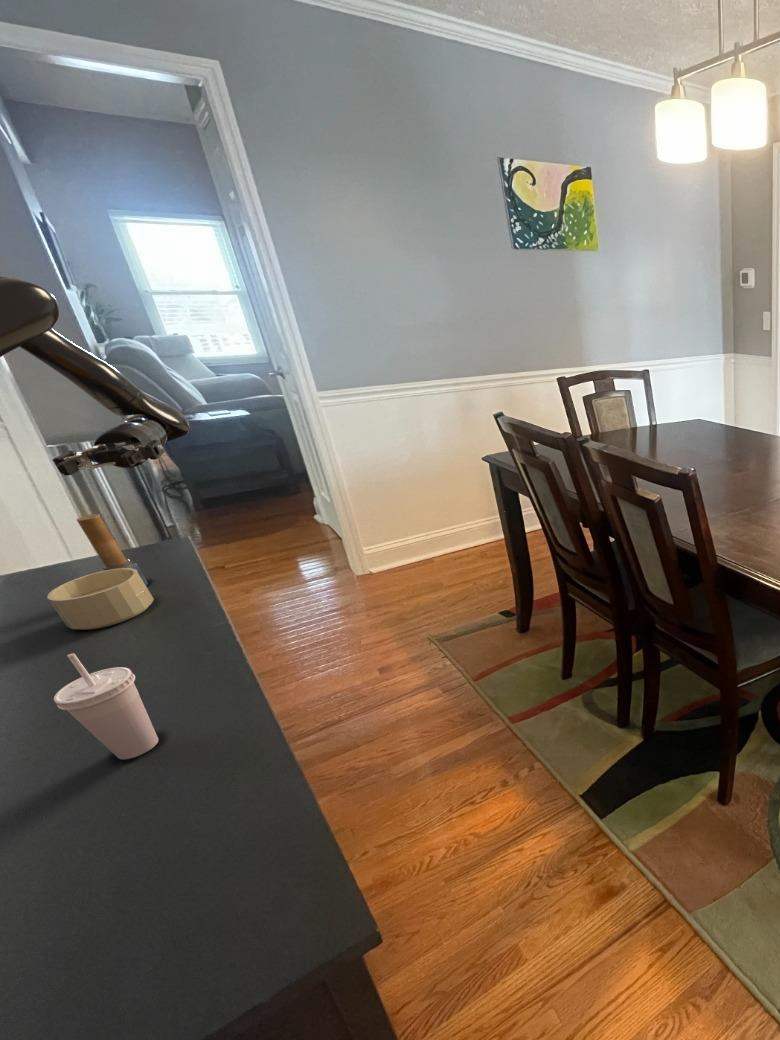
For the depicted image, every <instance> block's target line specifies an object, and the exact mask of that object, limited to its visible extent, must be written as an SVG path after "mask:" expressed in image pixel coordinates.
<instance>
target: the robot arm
mask: <svg viewBox="0 0 780 1040" xmlns="http://www.w3.org/2000/svg"><path fill="white" fill-rule="evenodd" d="M60 314H61V309H60V305H59V303H58V301H57V299H56V298H55V296H54V295H53V294H52V293H51V292H49V291H48V290H47V289H45V288H44V287H42V286H40V285H38V284H35V283H33V282H29V281H26V280H23V279H19V278H14V277H5V276H0V358H2V357H3V356H5V355H7V354H9V353H10V352H12V351H14V350H16V349H17V348H20V349H21V350H24V351H25V352H27V353H28V354H29V355H32V356H33V357H35V358H36V359H38V360H39V361H40V362H42V363H44V364H45V365H47V366H48V367H50V368H51V369H53V370H54V371H55V372H57V373H59V375H61V376H63V378H65V379H67V380H68V381H69V382H71V383H72V384H74V386H76V387H77V388H78V389H80V390H81V391H82V392H84V393H86V395H88V397H90V398H91V399H93V400H94V401H96V402H97V403H98V404H99V405H100V406H102V407H103V408H105V409H106V410H107V411H109V412H110V413H112V414H113V415H116V416H121V417H127V416H130V417H127V418H125V419H124V420H122V423H121V424H120V423H119V424H117V425H115V426H113V427H111V428H108V430H105V431H104V432H101V433H100V434H99V435H98V436H97V437H96V438H95V440H94V444H93V445H92V447H90V448H86V449H82V450H78V451H76V450H69V451H66V452H64V453H62V454H60V455H58V456H56V457H54V458H52V460H51V461H52V462H53V464H54V465H55V467H56V468H57V470H58V472H59V473H60V474H61V475H63V476H66V477H68V476H72V475H74V474H76V473H77V472H79V471H81V470H84V469H85V470H95V469H99V468H103V467H107V466H110V467H111V466H113V467H116V468H121V469H131V468H136V467H138V466H139V467H140V466H141V465H143V464H144V463H146V462H147V461H148V460H151V461H152V460H153V461H155V460H157V459H158V460H159V458H161V456H162V455H163V454H165V452H166V451H165V449H164V446H165V444H166V443H167V442H171V441H173V440H176V439H179V438H182V437H185V436H187V434H188V433H189V432H190V429H191V427H190V423H189V420H188V418H186V416H185V415H184V414H183V413H181V412H180V411H179V410H178V409H176V408H175V407H173V406H171V405H170V404H168V403H166V402H164V401H161V400H159V399H158V398H156V397H154V396H152V395H150V394H148V393H146V392H144V391H143V390H142V389H140V388H138V387H137V386H136V385H135V384H134V383H133V382H132V381H130V379H128V378H127V377H126V376H125V375H124V374H123V373H122V372H120V371H118V370H117V369H116V368H115V367H113V366H112V365H110V364H108V363H107V362H106V361H104V360H102V359H100V358H99V357H97V356H95V355H94V354H93V353H91V352H88V351H87V350H85V349H83V348H82V347H80V346H78V345H76V344H75V343H73V341H70V340H69V339H67V338H65V337H64V336H63V335H61V334H60V333H58V332H57V331H56V330H54V329H53V328H54V327H55V326H56V324H57V323H58V322H59V318H60ZM93 463H94V464H93Z"/></svg>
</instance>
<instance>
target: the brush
mask: <svg viewBox="0 0 780 1040" xmlns="http://www.w3.org/2000/svg"><path fill="white" fill-rule="evenodd" d="M76 522H77V524H78V525H79V527H80V529H81V530H82V532H83V533H84V535H85V536H86V538H87V540H88V541H89V542H90V544H91V546H92V547H93V550H94V551H95V552H96V554H97V555H98V557H99V559H100V560H101V562H102V563H103V566H102V569H103V571H106V570H111V569H119V568H132V569H136V570H137V571H138V573H139V575H140V576H141V578H142V580H143V581H144V583H145V585H146V586H147V585H148V584H149V582H148V581H147V579H146V577H145V575H144V574H143V572H142V570H141V569H140V567H139V565H138V564H137V563H136V562H132V561H131V559H129V558H126V557H125V555H124V553H123V552H122V550H121V548H120V547H119V545H118V543H117V542H116V540H115V538H114V536H113V535H112V534H111V532H110V530H109V529H108V527H107V525H106V524H105V521H103V519H102V517H101V515H100V514H99V513H92V514H87V515H83V516H80V517H78V518H76Z"/></svg>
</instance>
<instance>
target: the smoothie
mask: <svg viewBox="0 0 780 1040" xmlns="http://www.w3.org/2000/svg"><path fill="white" fill-rule="evenodd" d="M66 657H67V658H68V660H69V661H70V662H71V663H72V665H73V667H74V668H75V670H77V672H78V673H79V674H80V676H81V677H79V678H77V679H75V680H73V681H71V682H70V683H68V684H65V686H63V687H62V688H61V689H59V690H58V691H57V692H56V693H55V695H54V697H53V702H54V703H55V704H56V706H57V708H58V709H60V710H62V711H66V712H68V713H69V714H70V715H71V716H72V717H73V718H74V719H75V720H77V722H79V723H80V724H81V725H82V726H83V727H84V729H86V730H87V731H88V732H89V733H90V734H92V735H93V736H94V737H95V738H96V739H97V741H99V742H100V743H101V744H102V745H103V746H105V748H106V749H108V750H109V751H110V752H111V753H112V754H113V755H115V757H116V758H117V759H119V760H130V759H133V758H136V757H139V756H141V755H144V754H145V753H147V752H149V751H150V750H152V749H153V748H154V747H156V745H157V744H158V743H159V736H158V734H157V733H156V730H155V728H154V725H153V723H152V721H151V719H150V716H149V713H148V711H147V710H146V707H145V705H144V703H143V700H142V698H141V696H140V694H139V690H138V689H137V687H136V684H135V681H136V675H135V674H134V673H133V671H132V670H131V669H130V668H128V667H123V666H122V667H121V666H120V667H119V666H117V667H110V668H105V669H101V670H98V671H94V672H91V673H89V672H88V670H87V669H86V668H85V666H84V665H83V664H82V662H81V661H80V659H79V658H78V656H77V655H76V654H75V652H73V653H69V654H67V656H66Z"/></svg>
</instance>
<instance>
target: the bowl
mask: <svg viewBox="0 0 780 1040" xmlns="http://www.w3.org/2000/svg"><path fill="white" fill-rule="evenodd" d="M46 596H47V597H46V598H47V600H48V601H49V603H50V605H51V606H52V608H53V609H54V610H55V612H56V613H57V615H58V616H59V617H60V620H61V621H63V623H64V625H65V626H66V628H69V629H71V630H82V631H87V630H98V629H103V628H106V627H107V628H108V627H110V626H113V625H117V624H120V623H122V622H125V621H128V620H130V619H132V618H134V617H136V616H138V615H140V614H142V613H143V612H145V611H146V610H147V609H148V608H149V606H151V605H152V604H153V602H154V600H155V599H154V596H153V594H152V593H151V591H150V590H149V588H148V587H147V585H145V583H144V581H143V580H142V578H141V576H140V575H139V573H138V571H137V570H136V569H132V568H119V569H111V570H106V571H104V570H101V571H97V572H93V573H90V574H86V575H83V576H80V577H77V578H75V579H72V580H70V581H67V582H65V583H63V584H61V585H59V586H57V587H55V588H53V589H51V590H50V592H49V593H48V594H47V595H46Z"/></svg>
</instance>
